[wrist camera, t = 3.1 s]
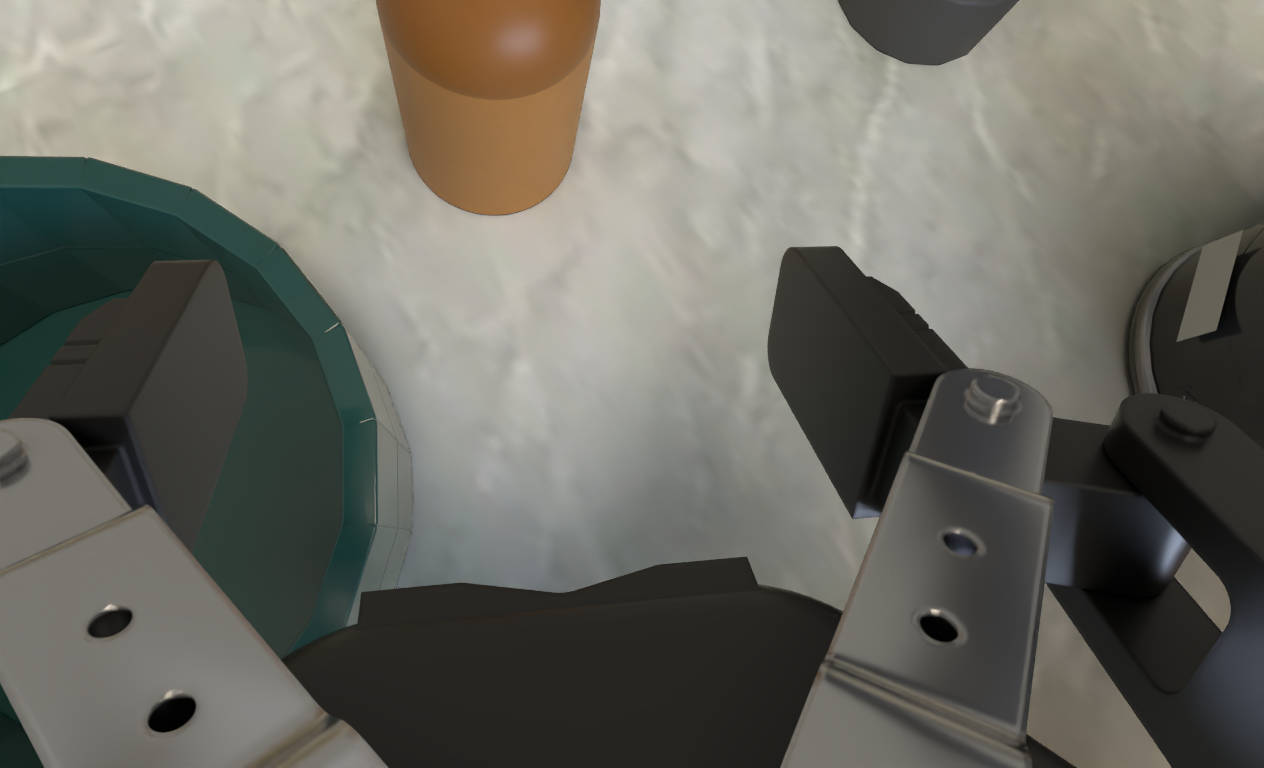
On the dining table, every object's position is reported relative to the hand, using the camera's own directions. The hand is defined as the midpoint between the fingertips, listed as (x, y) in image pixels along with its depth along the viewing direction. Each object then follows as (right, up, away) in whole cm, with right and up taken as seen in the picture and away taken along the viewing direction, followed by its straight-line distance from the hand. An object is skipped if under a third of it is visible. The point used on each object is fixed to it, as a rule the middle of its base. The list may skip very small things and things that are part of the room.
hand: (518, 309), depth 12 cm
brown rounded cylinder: (-3, +7, +14) cm, 16 cm away
